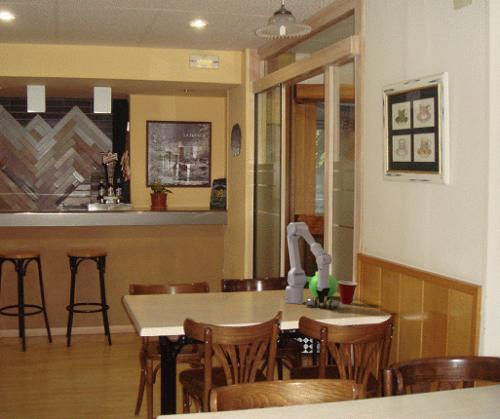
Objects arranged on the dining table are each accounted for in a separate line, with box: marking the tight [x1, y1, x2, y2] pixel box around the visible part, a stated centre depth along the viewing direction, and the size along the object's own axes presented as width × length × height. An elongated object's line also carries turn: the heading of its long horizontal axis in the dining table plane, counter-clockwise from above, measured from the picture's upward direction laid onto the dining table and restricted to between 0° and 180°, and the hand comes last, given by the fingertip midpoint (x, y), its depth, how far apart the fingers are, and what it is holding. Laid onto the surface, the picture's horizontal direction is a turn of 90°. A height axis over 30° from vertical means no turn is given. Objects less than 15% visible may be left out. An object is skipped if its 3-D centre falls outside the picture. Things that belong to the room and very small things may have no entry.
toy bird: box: [306, 270, 339, 298], centre depth 415 cm, size 18×17×15 cm
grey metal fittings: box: [305, 297, 340, 311], centre depth 384 cm, size 17×6×5 cm, turn 70°
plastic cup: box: [337, 280, 358, 305], centre depth 399 cm, size 11×11×12 cm
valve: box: [317, 296, 328, 308], centre depth 384 cm, size 4×4×8 cm
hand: (322, 302), depth 384 cm, fingers open, 5 cm apart
